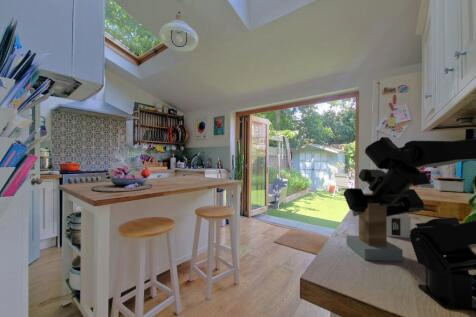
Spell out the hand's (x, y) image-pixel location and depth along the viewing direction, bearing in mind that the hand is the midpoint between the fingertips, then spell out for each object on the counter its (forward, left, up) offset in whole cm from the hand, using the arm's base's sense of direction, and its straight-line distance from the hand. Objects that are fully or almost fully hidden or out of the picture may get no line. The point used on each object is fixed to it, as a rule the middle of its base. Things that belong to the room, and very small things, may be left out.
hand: (369, 215), depth 62 cm
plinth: (-1, 0, -11) cm, 11 cm away
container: (+17, -16, -11) cm, 26 cm away
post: (-2, 0, -8) cm, 8 cm away
